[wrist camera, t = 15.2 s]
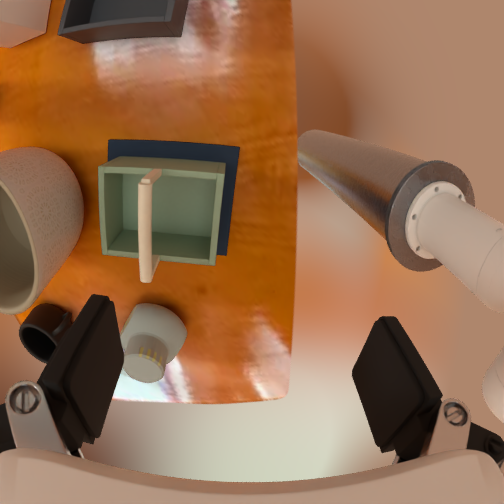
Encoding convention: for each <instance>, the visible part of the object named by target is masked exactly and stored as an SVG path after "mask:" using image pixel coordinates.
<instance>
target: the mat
mask: <svg viewBox="0 0 504 504" xmlns="http://www.w3.org/2000/svg"><path fill="white" fill-rule="evenodd" d="M239 149H240V147H235V146H225V145H215V144H204V143H191V142H176V141H155V140H108V162H109V161H111V160H113V159H115V158H117V157H119V156H129V157H154V158H172V159H187V160H199V161H211V162H221V163H226V166H225V176H224V185H223V194H222V203H221V212H220V222H219V232H218V242H217V252H216V255H225V256H226V255H227V247H228V238H229V229H230V221H231V212H232V204H233V196H234V188H235V180H236V172H237V164H238V157H239Z"/></svg>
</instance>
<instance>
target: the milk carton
mask: <svg viewBox="0 0 504 504" xmlns="http://www.w3.org/2000/svg"><path fill="white" fill-rule="evenodd" d="M50 3H51V0H0V47H6V48H12V47H14V46H16V45H19V44H21V43H23V42H25V41H28V40H30V39H32V38H35V37H37V36H39V35H42V34H44V33H46V27H47V20H48V14H49V8H50Z"/></svg>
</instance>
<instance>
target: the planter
mask: <svg viewBox="0 0 504 504" xmlns="http://www.w3.org/2000/svg"><path fill="white" fill-rule="evenodd" d="M83 219H84V203H83V196H82V192H81V189H80V185H79V183H78V180H77V178H76V176H75V174H74V173H73V171H72V170H71V168H70V167H69V166H68V164H67V163H66V162H65V161H64V160H63V159H62V158H61V157H59V156H58V155H56V154H55V153H53V152H51V151H49V150H47V149H43V148H39V147H21V148H15V149H10V150H6V151H2V152H0V313H3V314H9V315H14V314H19V313H22V312H24V311H26V310H27V309H28V308H29V307H30V306H31V305H32V304H33V303H34V301H35V300H36V299H37V298H38V296H39V295H40V294H41V292H42V291H43V290H44V288H45V287H46V286H47V284H48V283H49V282H50V280H51V279H52V278H53V276H54V275H55V274H56V273H57V271H58V270H59V269H60V267H61V266H62V265H63V264H64V262H65V261H66V259H67V258H68V257H69V255H70V254H71V252H72V250H73V249H74V247H75V245H76V243H77V241H78V239H79V236H80V233H81V230H82V226H83Z"/></svg>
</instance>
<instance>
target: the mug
mask: <svg viewBox="0 0 504 504" xmlns="http://www.w3.org/2000/svg"><path fill="white" fill-rule="evenodd" d="M71 317H72V313H71V312H67V313H64V312H63V311H62V310H61V309H59V308H58V307H56V306H54V305H51V304H40V305H38V306H36V307H35V308H34V309H33V310H32V311H31V312H30V314H29V315H28V317H27V318H26V319H25V321H24V322H23V323H22V325H21V326H20V329H19V337H20V340H21V342H22V344H23V345H24V347H25V348H26V349H27V350H28V352H29V353H30V354H31V355H32V356H34V357H35V358H36V359H38V360H40V361H41V362H44V363H46V364H47V363H48V361H49V359H50V357H51V356H52V354H53V352H54V350H55V349H56V347H57V345H58V344H59V342H60V340H61V339H62V337H63V335H64V334H65V332H66V330H67V329H68V328H70V327H71V326H72V323H71V321H70V319H71Z"/></svg>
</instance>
